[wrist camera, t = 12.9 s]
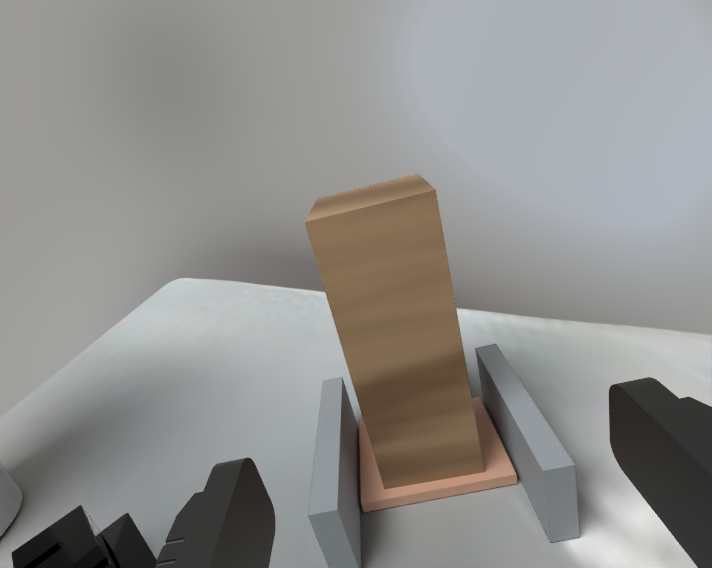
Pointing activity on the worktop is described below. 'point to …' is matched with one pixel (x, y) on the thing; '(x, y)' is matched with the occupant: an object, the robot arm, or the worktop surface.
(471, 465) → the walnut block
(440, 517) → the worktop surface
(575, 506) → the grey cradle
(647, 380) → the robot arm
